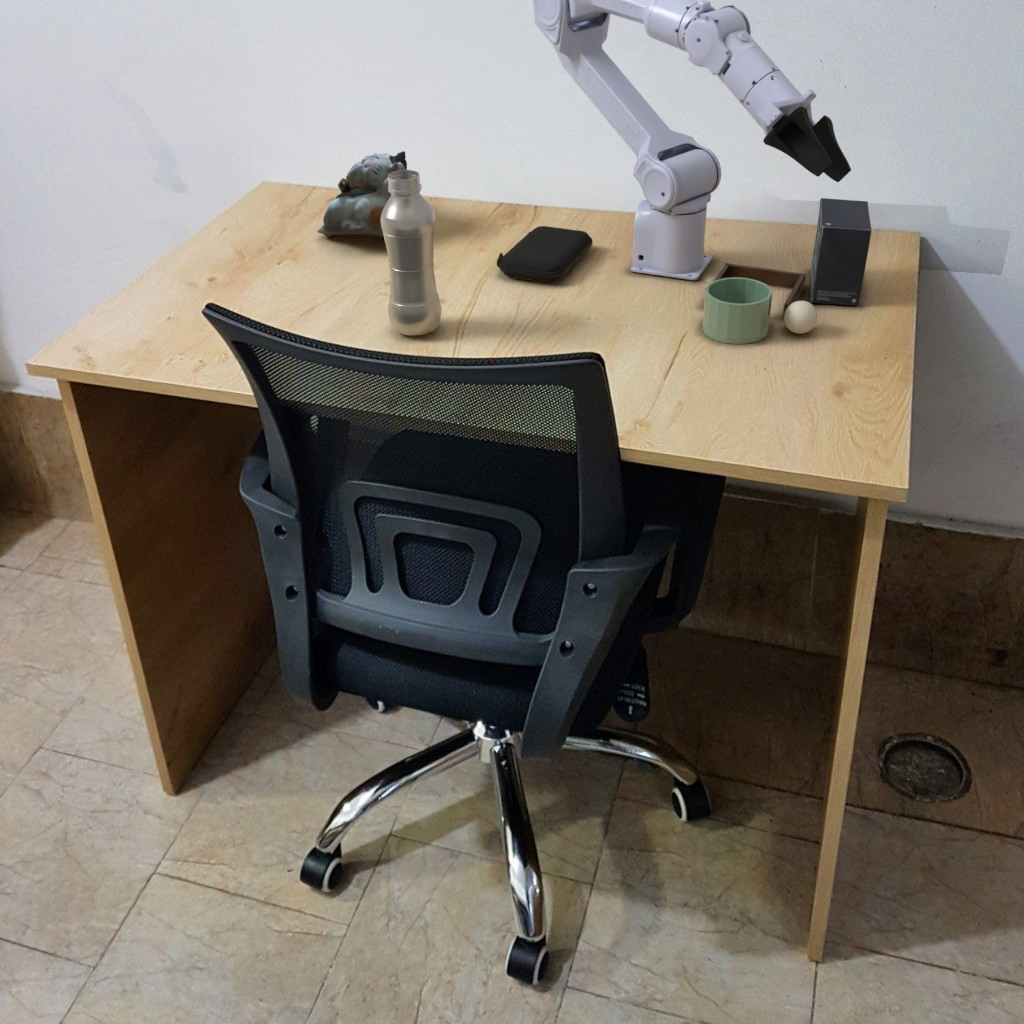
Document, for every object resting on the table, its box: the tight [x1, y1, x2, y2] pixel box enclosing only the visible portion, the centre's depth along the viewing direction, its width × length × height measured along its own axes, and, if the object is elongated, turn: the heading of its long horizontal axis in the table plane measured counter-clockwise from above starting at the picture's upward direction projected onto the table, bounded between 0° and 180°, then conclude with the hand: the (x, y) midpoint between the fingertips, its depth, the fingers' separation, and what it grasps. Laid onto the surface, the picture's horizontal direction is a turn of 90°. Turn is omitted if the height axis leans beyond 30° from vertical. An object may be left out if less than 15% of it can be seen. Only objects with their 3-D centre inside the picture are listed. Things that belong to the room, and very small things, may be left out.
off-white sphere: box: [783, 300, 819, 335], centre depth 139 cm, size 4×4×4 cm
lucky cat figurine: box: [316, 150, 408, 238], centre depth 168 cm, size 15×12×14 cm
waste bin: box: [702, 277, 773, 345], centre depth 140 cm, size 8×8×5 cm
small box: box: [809, 197, 873, 307], centre depth 147 cm, size 11×6×10 cm, turn 168°
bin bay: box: [713, 262, 807, 319], centre depth 148 cm, size 11×10×2 cm
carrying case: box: [496, 225, 594, 284], centre depth 159 cm, size 11×3×15 cm
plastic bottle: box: [380, 169, 443, 336], centre depth 138 cm, size 6×7×20 cm
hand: (834, 173), depth 132 cm, fingers open, 7 cm apart
